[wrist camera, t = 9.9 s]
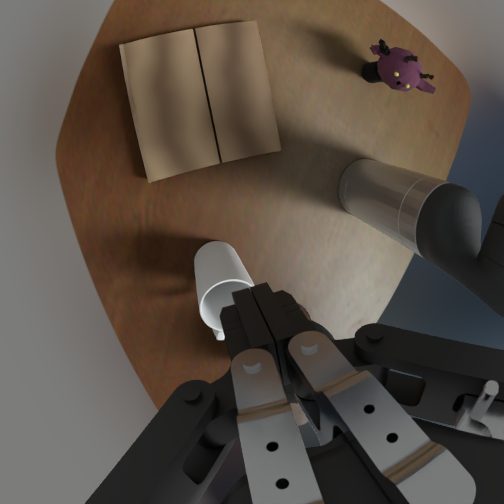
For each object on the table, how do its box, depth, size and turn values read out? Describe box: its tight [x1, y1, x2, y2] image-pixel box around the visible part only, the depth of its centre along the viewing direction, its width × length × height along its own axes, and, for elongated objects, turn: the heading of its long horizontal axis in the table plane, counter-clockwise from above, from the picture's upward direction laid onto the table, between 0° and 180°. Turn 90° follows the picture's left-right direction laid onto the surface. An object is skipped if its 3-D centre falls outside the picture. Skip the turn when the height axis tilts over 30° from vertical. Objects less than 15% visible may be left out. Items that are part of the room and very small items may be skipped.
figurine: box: [362, 39, 436, 94], centre depth 32 cm, size 8×8×12 cm
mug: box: [194, 241, 254, 340], centre depth 39 cm, size 10×7×12 cm, turn 166°
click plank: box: [119, 29, 220, 183], centre depth 32 cm, size 9×18×2 cm, turn 10°
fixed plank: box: [194, 21, 281, 163], centre depth 34 cm, size 8×18×2 cm, turn 10°
